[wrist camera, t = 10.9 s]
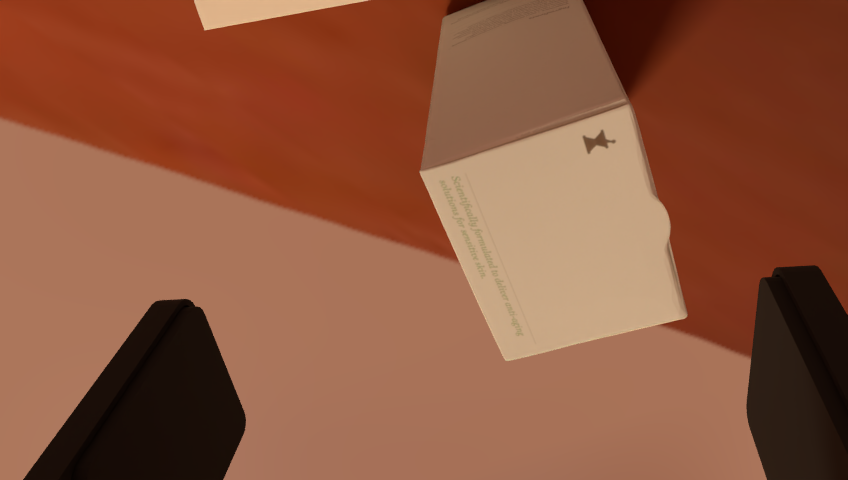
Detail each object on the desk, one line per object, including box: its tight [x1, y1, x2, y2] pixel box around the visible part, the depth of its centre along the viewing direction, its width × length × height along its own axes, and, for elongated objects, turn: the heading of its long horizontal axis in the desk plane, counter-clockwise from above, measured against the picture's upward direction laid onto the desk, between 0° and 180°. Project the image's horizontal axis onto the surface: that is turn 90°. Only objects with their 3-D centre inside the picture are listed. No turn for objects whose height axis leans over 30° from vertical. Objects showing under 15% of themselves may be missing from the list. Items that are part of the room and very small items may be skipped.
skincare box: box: [419, 0, 688, 361], centre depth 28 cm, size 8×7×16 cm
